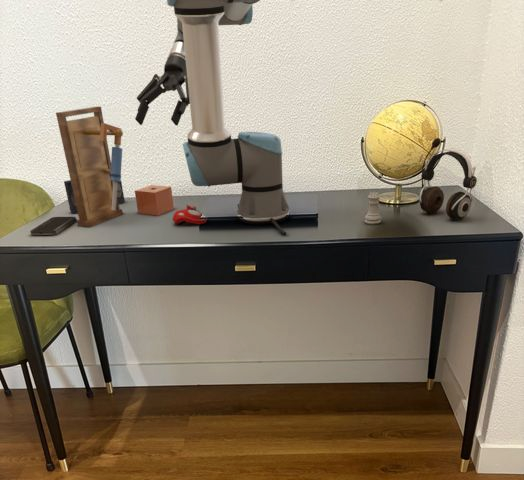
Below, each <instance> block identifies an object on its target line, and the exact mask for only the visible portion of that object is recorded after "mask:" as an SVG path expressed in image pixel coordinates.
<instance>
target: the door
mask: <svg viewBox="0 0 524 480" xmlns="http://www.w3.org/2000/svg"><path fill="white" fill-rule="evenodd" d="M102 111H103V110H102V106H89V107H84V108H78V109H71V110H63V111H57V112H55V115H56V120H57V124H58V129H59V134H60V138H61V139H60V140H61V143H62V147H63V153H64V157H65V161H66V165H67V171H68V174H69V178H70V179H69V180H71V184H72V189H73V193H74V198H75V202H76V207H77V211H78V213H77V215H78V220H76V223H77V226H78V227H86V228H91V227H93V226H96V225H98V224H101V223H103V222H106V221H109V220H111V219H113V218H116V217H119V216H121V215H124V212H123V209H122V208H120V204H118V198H117V199H116V211H115V210H111V209H112V192H113V181H110V174H111V155H110V148H109V144H108V139H107V140H106V142H102V141H100V132H101V123H105V122H104V117H103V112H102ZM86 114H93V115H92V116H88V117H87V116H86V117H81V118H76V119H70V120H67V118H68V117H75V116H80V115H86ZM123 135H124V132H123V130H122V129H121V130H120V129H118V130H116V131H110V130H107V136H114V137H115V136H117V137H121V138H122V137H123Z"/></svg>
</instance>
